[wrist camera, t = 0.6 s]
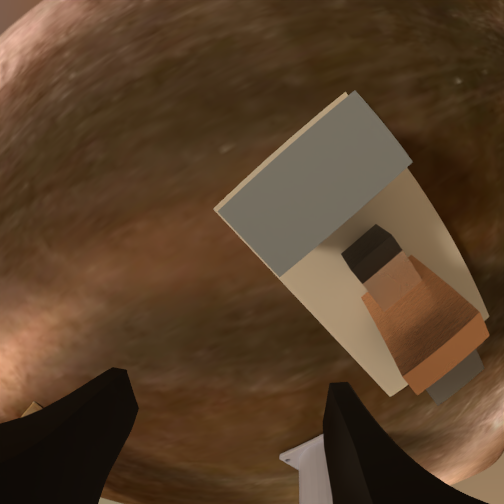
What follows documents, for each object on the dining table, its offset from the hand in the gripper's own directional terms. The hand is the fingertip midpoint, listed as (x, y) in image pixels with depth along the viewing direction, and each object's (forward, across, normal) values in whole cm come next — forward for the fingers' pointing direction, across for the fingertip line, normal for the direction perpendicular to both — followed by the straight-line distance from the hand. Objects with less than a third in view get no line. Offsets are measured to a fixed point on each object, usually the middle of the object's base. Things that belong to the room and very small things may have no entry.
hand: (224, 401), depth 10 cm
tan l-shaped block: (+9, -10, +1) cm, 13 cm away
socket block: (+9, -3, -7) cm, 12 cm away
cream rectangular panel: (+10, -8, -2) cm, 13 cm away
